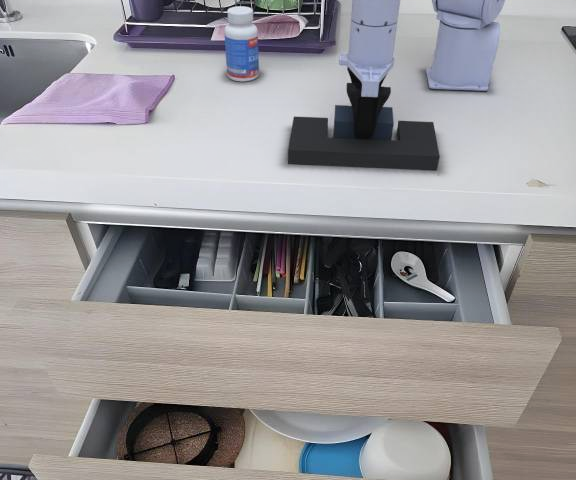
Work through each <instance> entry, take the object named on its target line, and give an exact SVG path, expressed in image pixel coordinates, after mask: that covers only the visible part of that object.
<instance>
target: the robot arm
mask: <svg viewBox="0 0 576 480" xmlns="http://www.w3.org/2000/svg"><path fill="white" fill-rule="evenodd" d="M505 2H506V0H431V4H432V8H433V11H434V12H435V13H436V18H435V19H436V20H438V21H439V24H438V29H437V36H436V41H435V47H434V52H433V57H432V63H431V64H432V65H431V66H429V67H426V69H425V73H426V78H427V83H428V88H429V89H432V90H453V91H455V90H456V91H477V92H478V91H480V92H481V91H482V92H487V91H488V90H489V83H490V79H491V75H492V72H493V68H494V65H495V60H496V56H497V51H498V47H499V43H500V35H501V27H500V23H499V22H497V21H495V20H496V19H498V17H499V15H500V13H501V12H502V10H503V7H504V5H505ZM400 5H401V0H351V12H350V13H351V14H350V27H349V41H348V53H341V54H339V55H338V65H339V66H345V67H346V68H347V69H346V70H347V72H348V76H349V78H350V82H346V95H347V97H348V99H349V102H350V106H352V110H353V117H354V131H355V137H356V139H366V140H370V139H371V138H372V135H373V132H374V129H375V126H376V123H377V120H378V116H379V114H380V111H381V109H382V107H385V106H384V105H386V103H387V101H388V100H389V98H390V96H391V94H392V87H391V86H382V85H383V83H384V81H385V79H386V77H387V76H388V74H389V72H390V71H391V70H392V69H393V67H394V66H395V57H394V52H395V46H396V45H395V44H396V37H397V30H398V21H399V14H400V7H401V6H400Z"/></svg>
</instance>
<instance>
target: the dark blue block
mask: <svg viewBox="0 0 576 480" xmlns="http://www.w3.org/2000/svg"><path fill="white" fill-rule="evenodd" d="M333 116H334V117H333V134H332V138H354V139H356V137H355V131H354V117H353V110H352V105H346V104H345V105H344V104H343V105H342V104H335V105H334V115H333ZM394 122H395V121H394V112H393V107H392V106H383V107H382V109H381V111H380V114H379V116H378V120H377V123H376V126H375V129H374V132H373V135H372V138H371V139H378V140H393V131H394V124H395V123H394Z"/></svg>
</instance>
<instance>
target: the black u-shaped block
mask: <svg viewBox="0 0 576 480" xmlns="http://www.w3.org/2000/svg"><path fill="white" fill-rule="evenodd" d="M328 131H329V117H317V116H316V117H315V116H295V115H294V116H293V120H292V125H291V132H290V137H289V142H288V148H287V164H288V165H309V166H329V167H331V166H332V167H349V168H350V167H352V168H374V169H375V168H376V169H377V168H378V169H396V170H397V169H399V170H418V171H419V170H420V171H438V166H439V162H440V151H439V145H438V140H437V134H436V129H435V123H434V121H420V120H419V121H417V120H398V121H397V126H396V134H395V136H396V139H391V140H378V139H370V140H366V139H354V138H333V137H328V133H329V132H328Z"/></svg>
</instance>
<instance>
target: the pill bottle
mask: <svg viewBox="0 0 576 480" xmlns="http://www.w3.org/2000/svg"><path fill="white" fill-rule="evenodd" d="M227 21H228V22H229V23H228V24H226V25H225V27H224V30H223V33H224V48H225V65H226V75H227V77H228V79H230V80H232V81H236V82H251V81H253V80H255V79H257V78H258V77H259V75H260V66H259V65H260V63H259V62H260V61H259V60H260V59H259V31H258V27H257V26H256V24H254V23H253V21H254V10H253V8H252V7H250V6H243V5H240V6H238V5H237V6H232V7H229V8H228V9H227Z"/></svg>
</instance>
